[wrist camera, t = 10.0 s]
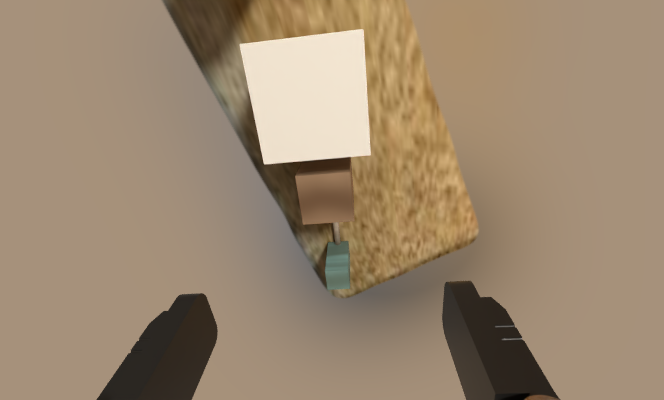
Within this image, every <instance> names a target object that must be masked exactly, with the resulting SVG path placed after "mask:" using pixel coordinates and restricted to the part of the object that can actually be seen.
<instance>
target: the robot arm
mask: <svg viewBox="0 0 664 400" xmlns="http://www.w3.org/2000/svg"><path fill="white" fill-rule="evenodd" d="M443 301H444V302H443V314H442V320H443V329H444V334H445V337H446V340H447V343H448V346H449V349H450V352H451V355H452V358H453V361H454V364H455V367H456V370H457V373H458V376H459V379H460V382H461V385H462V388H463V391H464V394H465V397H466V400H560V399H559V398H558V396H557V395H556V393H555V392H554V391H553V389H552V387H551V386H550V384H549V382H548V380H547V379H546V377H545V375H544V374H543V372H542V370H541V368H540V367H539V365H538V364H537V362H536V360H535V358H534V357H533V355H532V353H531V352H530V350H529V348H528V347H527V345H526V343H525V341H523V340H522V336H521V335H520V333H519V331H518V330H517V328H515V325H514V323H513V321H512V319H511V318H510V316H509V314H508V313H507V311H506V309H504V308H503V307H502V306H501V305H500V304H499V303H497V302H496V301H495V300H494V299H493V298H492V297H480V296H479V294H478V292H477V290H476V288H475V287H474V285H473V283H472V282H471V281H456V282H446V283H445V287H444V300H443ZM216 340H217V325H216V322H215V319H214V316H213V313H212V311H211V308H210V305H209V303H208V300H207V297H206V296H205V295H204V294H202V293H201V294H182V295H179V296H178V297H177V298H176V300H175V301H174V303H173V304H172V306H171V307H170V309H169V310H168V311H163V312H162V313H161V314H160V315H159V316H158V317H156V318H155V319H154V320H153V321H152V322H151V323H150V324H149V325H148V326H147V328H146V329H145V331H144V332H143V334H142V335H141V336H140V338H139V341H137V342H136V344H135V345H134V346H133V348H132V350H131V353H129V354H128V355H127V357H126V358H125V360H124V361H123V362H122V364H121V365H120V367H119V368H118V370H117V371H116V373H115V374H114V375H113V377H112V378H111V380H110V381H109V383H108V384H107V386H106V387H105V388H104V390H103V391H102V393H101V394H100V396H99V397H98V398H97V400H192V397H193V395H194V392H195V390H196V388H197V386H198V383H199V381H200V379H201V376H202V374H203V372H204V369H205V367H206V365H207V362H208V360H209V358H210V355H211V353H212V351H213V348H214V346H215V344H216Z"/></svg>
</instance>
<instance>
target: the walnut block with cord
mask: <svg viewBox="0 0 664 400" xmlns="http://www.w3.org/2000/svg"><path fill="white" fill-rule="evenodd" d="M295 179H296V185H297V191H298V197H299V203H300V210H301V216H302V222H303V225H305V224H319V223H333V229H334V238H335V242H328V248H327V257H326V266H325V275H326V282H327V290H331V289H350V254H349V244H348V241H343V242H341V241H340V232H339V223H338V222H348V221H354V196H353V180H352V168H351V157H344V158H332V159H321V160H309V161H302V162H301V164H300V167H299V169H298V171H297V173H296V176H295Z"/></svg>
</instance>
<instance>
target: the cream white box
mask: <svg viewBox="0 0 664 400" xmlns="http://www.w3.org/2000/svg"><path fill="white" fill-rule="evenodd" d="M240 49H241V54H242V59H243V64H244V69H245V73H246V78H247V83H248V88H249V93H250V98H251V103H252V108H253V113H254V118H255V123H256V127H257V132H258V137H259V142H260V147H261V152H262V157H263V162H264V164H275V163H287V162H298V161H309V160H321V159H332V158H344V157H355V156H366V155H371V153H370V136H369V118H368V101H367V83H366V66H365V48H364V31H363V29H360V30H352V31H344V32H335V33H327V34H319V35H311V36H303V37H295V38H287V39H278V40H270V41H262V42H254V43H246V44H240Z"/></svg>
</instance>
